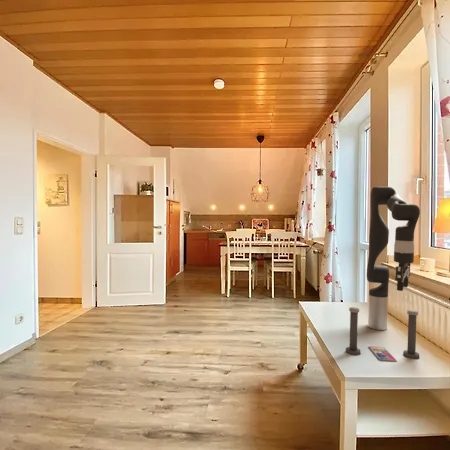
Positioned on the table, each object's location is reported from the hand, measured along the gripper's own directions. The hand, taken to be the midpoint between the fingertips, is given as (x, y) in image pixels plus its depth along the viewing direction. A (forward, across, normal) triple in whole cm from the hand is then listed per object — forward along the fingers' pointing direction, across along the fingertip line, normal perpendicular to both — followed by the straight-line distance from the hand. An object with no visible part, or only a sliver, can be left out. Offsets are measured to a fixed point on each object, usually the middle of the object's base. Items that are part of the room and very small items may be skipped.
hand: (402, 288), depth 145 cm
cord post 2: (+28, -1, +4) cm, 29 cm away
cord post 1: (+28, +12, -16) cm, 35 cm away
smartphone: (+29, +6, -6) cm, 30 cm away
